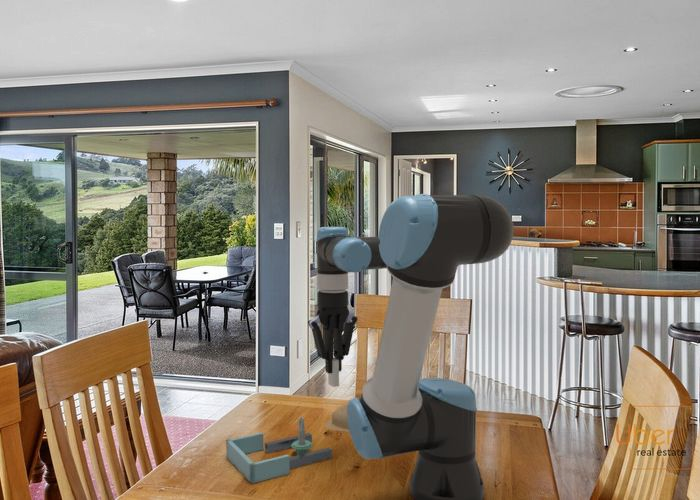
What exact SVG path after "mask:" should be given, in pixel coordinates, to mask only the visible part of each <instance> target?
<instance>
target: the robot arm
mask: <svg viewBox="0 0 700 500" xmlns="http://www.w3.org/2000/svg"><path fill="white" fill-rule="evenodd" d="M513 222H514V221H513V218H512V216H511V213H509V211H508V210H507V208H506V207H505V206H504V205H503V204H502V203H501V202H500V201H497V199H494V198H491V197H489V196H485V195H481V194H466V195H465V194H427V193H418V194H415V195H404V196H400V197H398V198H396V199H395V200H393V201H391V203H390V204H389V205H388V207H387V208H386V210H385V211H384V214H383V216H382V219H381V222H380V225H379V230H378V236H356V237H354V236H349V233H348V232H349V231H348V230H349V229H348V228H347V227H346V226H321V227H319V228H318V229H317V232H316V241H315V242H316V264H317V267H316V270H317V271H316V272H317V273H316V274H317V278H316V279H317V282H316V283H317V285H316V286H317V289H318V291H317V312H316V316H315V317H314V318H313V319H309V320H308V321H307V325H308V326H309V328H310V329H311V331H312V336H313V340H314V341H313V342H314V345H315V349H316V353H317V357H318V358H321V359H322V360H324V361H325V362H324V363H325V373H328V374H327V375H328V378H327V380H328V381H327V382H328V385H329V386H331V387H332V388H337V387H340V372H342V361H343V360H344V359H345V357H346V356H348V355H349V353H350V349H351V344H352V339H353V335H354V328H355V325H356V324H357V321H358V317H357V316H355V315H352V314H351V313H350V310H349V307H348V306H349V292H348V289H349V273H359V272H360V273H361V272H362V271H365V270H366V271H367V270H368V271H369V270H381V269H387V271H388V274H389V275H390V276H391V277H392V282H391V288H390V291H389V296H388V302H387V308H386V313H385V318H384V321H383V326H382V332H381V336H380V339H379V345H378V346H379V347H378V352H377V356H376V361H375V366H374V372H373V375H372V377H371V378H369V379H368V380H367V381H365V382H364V384H363V387H362V389H361V391H362V392H361V395H360V397H354V398H351V399H349V400H348V402H347V403H346V405H347V421H348V426H349V431H350V432H349V435H350V437H351V440H352V442H353V443H352V444H353V447H354V448H355V450H356V452H357V453H358V454H359V456H361V457H362V458H363V459H364V460H365V459H366V460H374V459H375V460H376V459H380V460H382V459H384V458H389V457H393V456H394V457H395V456H398V455H405V454H410V453H414V452H417V453H418V454H417V458H416V461H415V464H414V469H413V471H412V474H411V475H410V479H409V493H410V496H411V497H412V498H413V499H414V500H484V497H485V484H484V480H483V478H482V475H481V470H480V468H479V465H478V461H477V459H476V448H477V445H476V442H477V441H476V439H477V438H476V437H477V436H476V435H477V434H476V429H477V411H478V409H477V399H476V393H475V391H474V389H473V388H472V387H470V386H469V385H467V384H465V383H463V382H460V381H457V380H453V379H447V378H440V377H425V378H422V379H421V376H422V372H423V368H424V365H425V359H426V356H427V351H428V347H429V343H430V340H431V336H432V332H433V328H434V324H435V320H436V316H437V312H438V308H439V304H440V300H441V296H442V292H443V289H446V288H448V287H450V286H451V285H453V283H454V282H455V281H454V280H455V278H456V277H455V276H456V273H457V270H458V267H459V266H463V265H464V266H467V265H474V264H475V265H476V264H478V265H479V264H483V263H489V262H491V261H493V260H496V259H497V258H499V257H500V256H502V255H503V254H504V253H506V252H507V250H508V249H509V247H510V246H511V243H512V240H513V237H514V231H515V229H514V223H513ZM321 325H322V329H321ZM321 330H323V335H322V331H321Z"/></svg>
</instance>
